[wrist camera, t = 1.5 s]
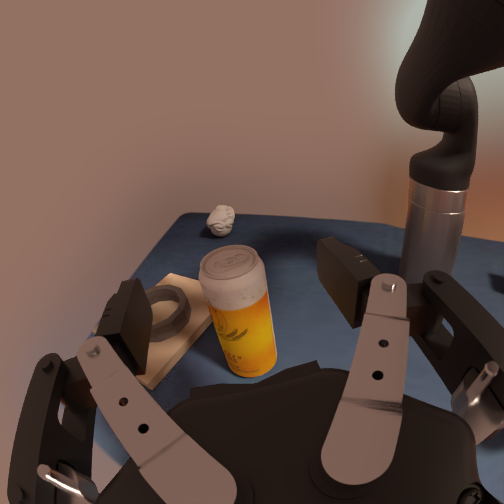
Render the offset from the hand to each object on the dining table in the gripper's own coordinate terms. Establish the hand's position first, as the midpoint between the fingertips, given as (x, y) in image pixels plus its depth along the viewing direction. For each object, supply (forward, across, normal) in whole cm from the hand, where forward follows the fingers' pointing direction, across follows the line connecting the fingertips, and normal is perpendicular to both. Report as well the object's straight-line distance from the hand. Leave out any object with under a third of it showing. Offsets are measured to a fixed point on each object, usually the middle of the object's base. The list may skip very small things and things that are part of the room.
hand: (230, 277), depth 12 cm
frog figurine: (+48, 0, +19) cm, 52 cm away
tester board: (+22, +12, +20) cm, 32 cm away
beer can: (+12, 0, +21) cm, 24 cm away
